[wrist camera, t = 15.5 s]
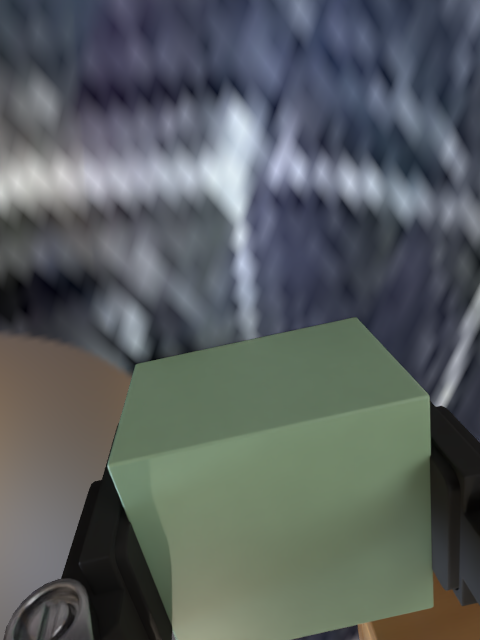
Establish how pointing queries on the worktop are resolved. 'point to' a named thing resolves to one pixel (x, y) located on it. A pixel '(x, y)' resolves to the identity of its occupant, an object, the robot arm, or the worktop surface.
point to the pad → (279, 484)
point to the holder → (429, 621)
